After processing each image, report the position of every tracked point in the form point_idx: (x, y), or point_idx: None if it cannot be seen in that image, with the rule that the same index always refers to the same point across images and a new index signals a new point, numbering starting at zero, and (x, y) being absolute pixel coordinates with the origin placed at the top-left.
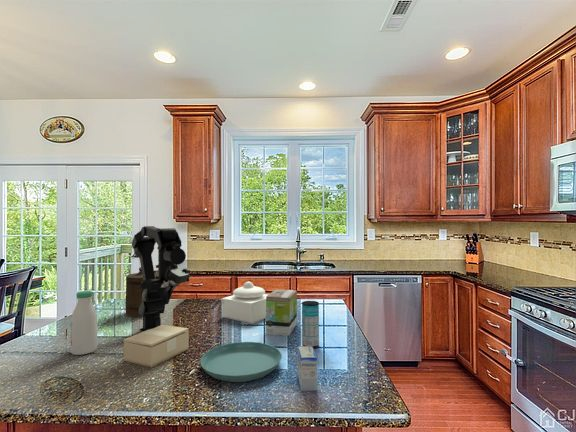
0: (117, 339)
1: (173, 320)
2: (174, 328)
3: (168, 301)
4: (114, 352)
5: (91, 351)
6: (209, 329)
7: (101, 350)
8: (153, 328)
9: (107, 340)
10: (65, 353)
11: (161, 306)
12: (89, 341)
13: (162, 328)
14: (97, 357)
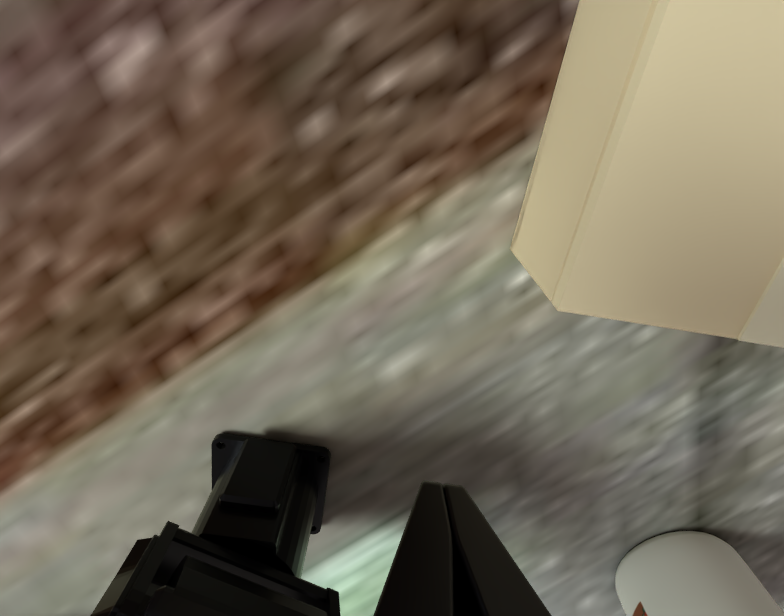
0: None
1: (45, 461)
2: (724, 56)
3: (435, 511)
4: (689, 436)
5: (703, 535)
6: (45, 30)
7: (659, 510)
8: (688, 324)
9: None
10: None
11: (198, 586)
12: (758, 595)
13: (703, 224)
14: (764, 467)
